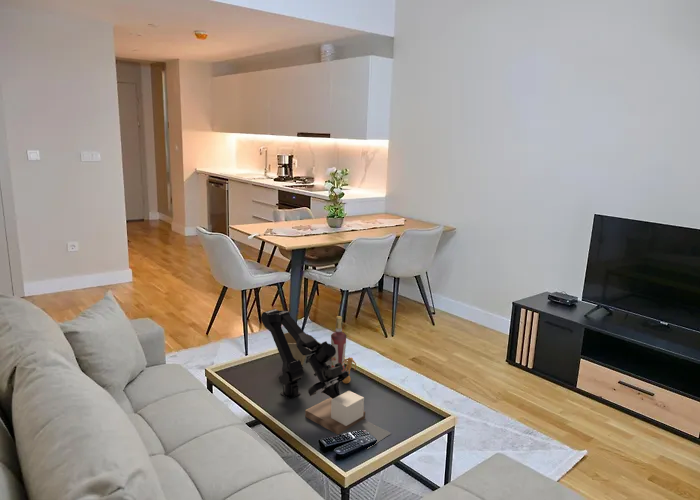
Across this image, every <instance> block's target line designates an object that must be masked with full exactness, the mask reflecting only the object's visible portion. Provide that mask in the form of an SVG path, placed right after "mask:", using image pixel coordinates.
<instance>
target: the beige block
mask: <svg viewBox="0 0 700 500" xmlns="http://www.w3.org/2000/svg"><path fill="white" fill-rule="evenodd" d="M364 408H365V397H364V396H361V395H360V394H357V393H355V392H353V391H351V390H347V391H345V392H344V393H341V394H340V395H339V396H337V397H335V398H333V399H332V404H331V418H332V419H334V420H336V421H338V422H340V423H341V424H343V425H345V426H347V425H349V424H351V423H352V422H354V421H356V420H357V419H359V418H361V417H363V412H364V411H365V409H364Z"/></svg>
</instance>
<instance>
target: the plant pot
mask: <svg viewBox="0 0 700 500" xmlns="http://www.w3.org/2000/svg"><path fill="white" fill-rule="evenodd" d="M283 333H284V335H285V338H286V340H287V343H288V345H289V348H290V350H291V352H292V355H293V357H294V358H295V359H296V360H300V361H301V365H302V367H303V366H304V363H305V361H306V358H307V355H302V354H301V352H300V351H299V349H298V348H297V344H296V341H295V339H294V338H293V337H292V336H291V335H290V333H289V332H288V331H287V332H283Z"/></svg>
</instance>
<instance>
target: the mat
mask: <svg viewBox="0 0 700 500" xmlns="http://www.w3.org/2000/svg"><path fill="white" fill-rule="evenodd" d="M359 430H366V431H367V432H369V433H370V434H371V435H373V436H374V437H375V438H376V439H377V442H376V443H375V444H374V445H372V446H370V447H368V448H367V449H366V450H369V449H370V448H372V447H374V446H375V445H377V444H378V443H379V442H381V441H382V440H384V439H385V438H387V437H388V436H390V435H391V434H392V432H390V431H388V430H386V429H384V428H383V427H380V426H378V425H375V424H374V423H372V422H370V421H368V420H366V419H363V420H361V421H360V422H358V423H356V424H355V425H353V426H351V427H349V428H348V429H346V430H344V431H343V432H341V433H340V434H339V435H341V434H343V433H347V432H353V431H359Z"/></svg>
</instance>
